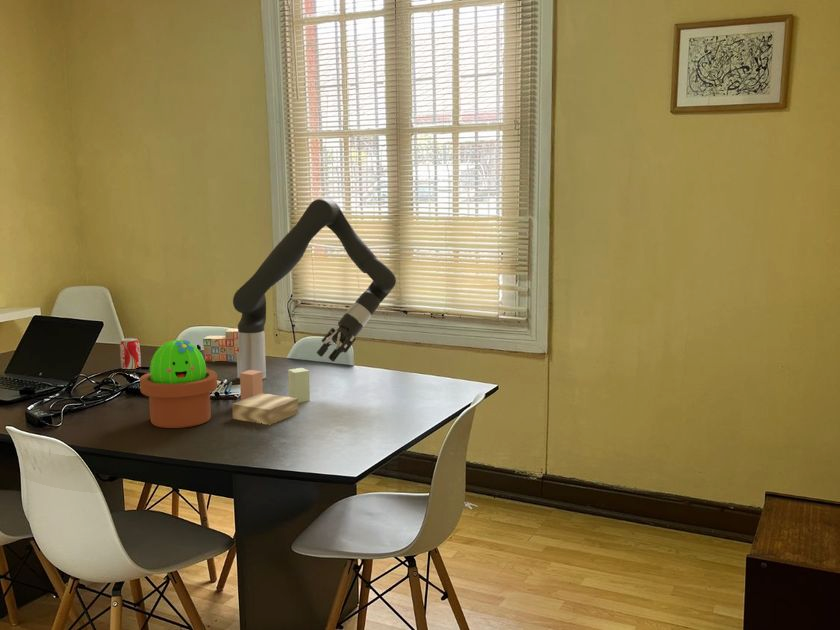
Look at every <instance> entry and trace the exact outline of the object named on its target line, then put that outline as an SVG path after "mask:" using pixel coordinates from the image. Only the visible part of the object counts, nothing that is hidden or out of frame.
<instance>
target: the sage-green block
mask: <svg viewBox="0 0 840 630" xmlns="http://www.w3.org/2000/svg"><path fill="white" fill-rule="evenodd" d="M287 374H288V378H287V379H288V397H292V398H298V404H300V403H305V402H310V399H311V397H310V396H311V395H310V394H311V393H310V370H309V369H306V368H303V367H297V368H291V369H290V368H289V369H287Z"/></svg>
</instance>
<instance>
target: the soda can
mask: <svg viewBox="0 0 840 630" xmlns="http://www.w3.org/2000/svg"><path fill="white" fill-rule="evenodd" d="M140 348H141V346H140V342H139V340H138V338H136V337H127V338H122V339H121V340H120V343H119V354H120V355H119V356H120V357H119V358H120V367H121V370H122V369H136V368H139V367H141V366H142V362H141V361H142V360H141V358H142V357H141V349H140ZM141 368H142V367H141Z"/></svg>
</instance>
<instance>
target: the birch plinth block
mask: <svg viewBox="0 0 840 630" xmlns="http://www.w3.org/2000/svg"><path fill="white" fill-rule="evenodd" d="M231 407H232V409H231V411H232V419H233V420H238V421H244V422H250V423H255V422H256V424H261V423H262V424H261V425H267V424H268V426H271V424H272V425H273V423H274V424H276V423H278V421H279V422H280V421H282V420H286V419H287V418H290V417H293V416H294V415H297V414H299V403H298V398H292V397H289V396H283V395H277V394H270V393H264V392H263V393H260V394H258V395H255V396H252V397H249V398H247V399H244V400H241V399H240V400H238V401H236V402H234V403H233V402H232V404H231Z"/></svg>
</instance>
